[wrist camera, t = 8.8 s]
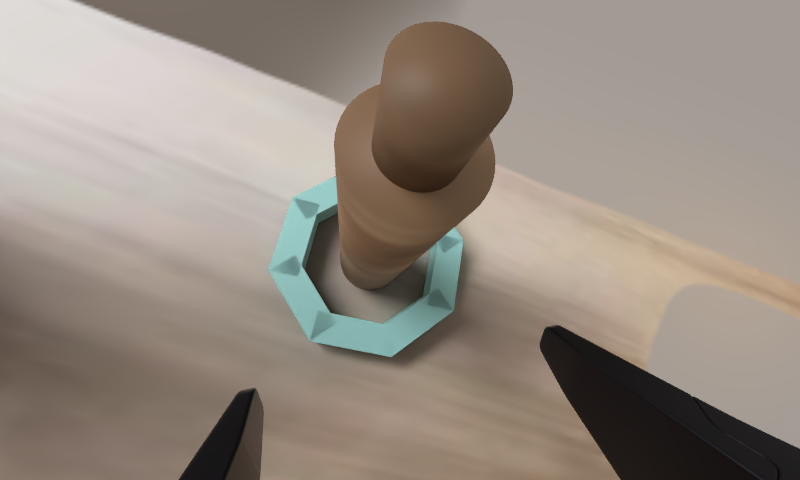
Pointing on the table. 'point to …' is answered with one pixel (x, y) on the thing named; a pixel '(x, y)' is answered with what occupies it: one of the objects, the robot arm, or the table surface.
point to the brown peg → (417, 148)
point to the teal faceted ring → (348, 330)
